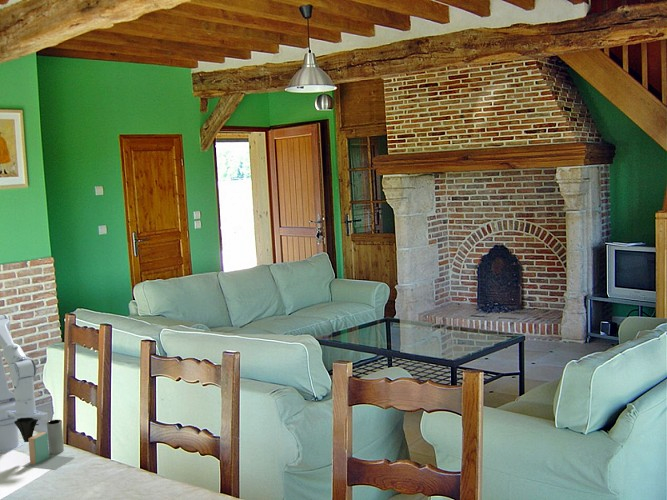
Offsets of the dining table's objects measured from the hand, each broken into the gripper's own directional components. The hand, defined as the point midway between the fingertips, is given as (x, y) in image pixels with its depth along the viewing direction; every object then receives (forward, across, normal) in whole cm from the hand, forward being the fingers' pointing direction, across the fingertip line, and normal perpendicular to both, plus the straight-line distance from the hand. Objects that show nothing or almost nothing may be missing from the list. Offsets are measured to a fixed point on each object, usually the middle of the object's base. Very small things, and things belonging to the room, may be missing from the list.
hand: (28, 441), depth 232 cm
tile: (+6, +4, 0) cm, 7 cm away
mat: (+6, +8, 0) cm, 10 cm away
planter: (+7, +4, +8) cm, 11 cm away
